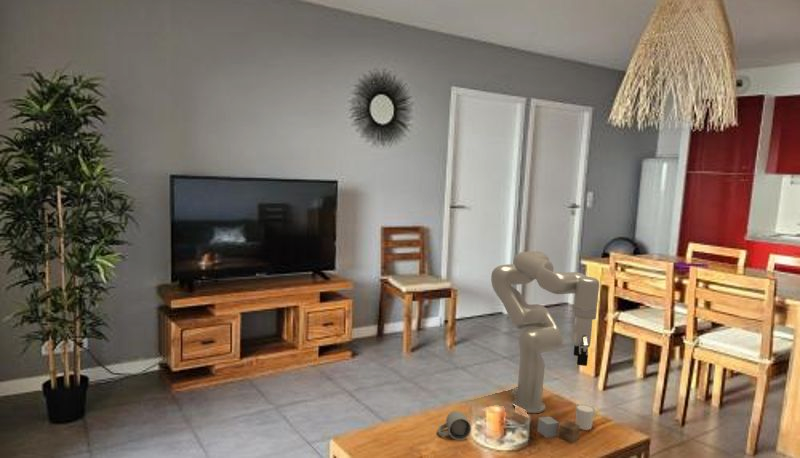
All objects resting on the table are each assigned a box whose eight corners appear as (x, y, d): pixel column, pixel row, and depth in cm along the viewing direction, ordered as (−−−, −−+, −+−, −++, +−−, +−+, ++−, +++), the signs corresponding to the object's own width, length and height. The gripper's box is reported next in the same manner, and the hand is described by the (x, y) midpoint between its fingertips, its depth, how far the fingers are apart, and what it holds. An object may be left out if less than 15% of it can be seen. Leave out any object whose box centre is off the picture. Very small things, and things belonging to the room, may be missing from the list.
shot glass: (597, 429, 197) (599, 411, 196) (582, 431, 195) (584, 413, 194) (584, 420, 204) (586, 403, 203) (569, 423, 201) (571, 405, 200)
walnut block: (558, 438, 189) (559, 424, 188) (565, 433, 193) (566, 420, 192) (572, 443, 186) (573, 430, 185) (578, 439, 189) (579, 425, 189)
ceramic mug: (465, 428, 192) (466, 408, 191) (470, 440, 184) (471, 418, 183) (435, 429, 191) (436, 408, 190) (439, 441, 183) (440, 419, 182)
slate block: (537, 431, 193) (538, 418, 193) (548, 429, 195) (550, 416, 195) (546, 438, 189) (547, 424, 188) (557, 436, 191) (558, 422, 190)
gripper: (570, 305, 196) (566, 351, 198) (576, 318, 179) (571, 367, 181) (592, 307, 195) (587, 353, 197) (600, 320, 178) (595, 370, 180)
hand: (580, 360), depth 189 cm, fingers open, 9 cm apart
